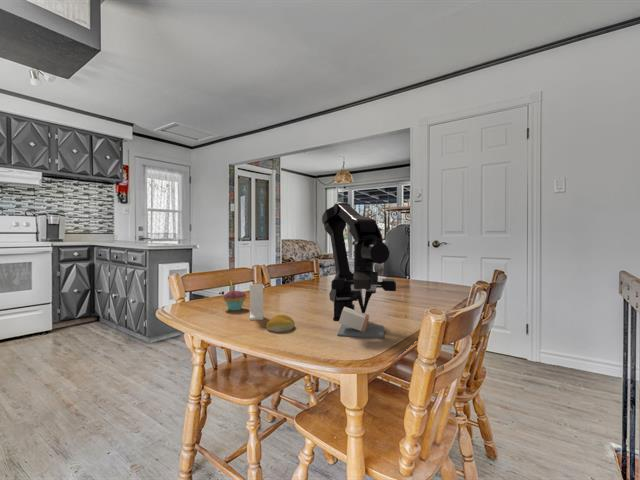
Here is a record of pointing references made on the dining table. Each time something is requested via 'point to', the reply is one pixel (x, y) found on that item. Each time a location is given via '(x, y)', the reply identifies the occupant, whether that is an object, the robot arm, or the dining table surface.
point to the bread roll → (280, 323)
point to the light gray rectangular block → (256, 302)
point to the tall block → (354, 319)
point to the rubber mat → (370, 332)
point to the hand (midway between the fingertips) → (363, 312)
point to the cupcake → (234, 299)
